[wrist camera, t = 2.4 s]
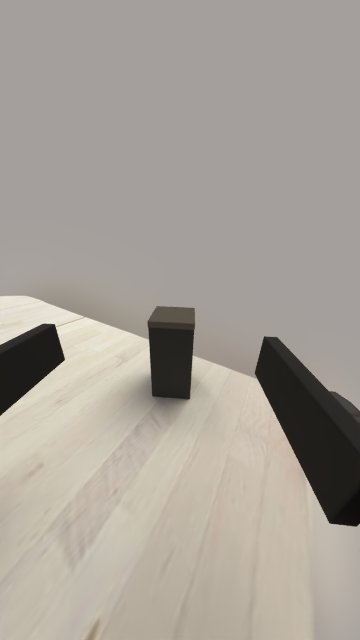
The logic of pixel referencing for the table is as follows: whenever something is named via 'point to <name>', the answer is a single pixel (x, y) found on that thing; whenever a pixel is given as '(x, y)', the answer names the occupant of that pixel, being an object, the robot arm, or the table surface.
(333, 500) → the robot arm
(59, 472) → the table surface
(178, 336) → the dark capped pillar
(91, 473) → the table surface
